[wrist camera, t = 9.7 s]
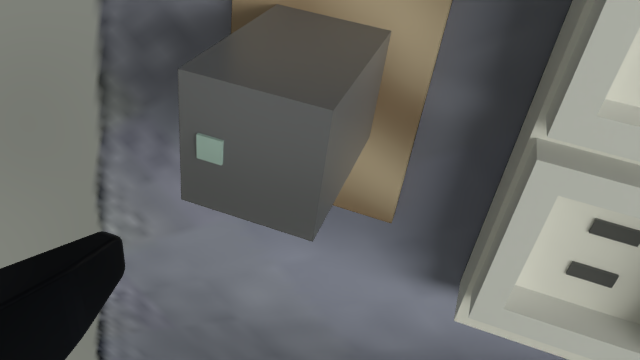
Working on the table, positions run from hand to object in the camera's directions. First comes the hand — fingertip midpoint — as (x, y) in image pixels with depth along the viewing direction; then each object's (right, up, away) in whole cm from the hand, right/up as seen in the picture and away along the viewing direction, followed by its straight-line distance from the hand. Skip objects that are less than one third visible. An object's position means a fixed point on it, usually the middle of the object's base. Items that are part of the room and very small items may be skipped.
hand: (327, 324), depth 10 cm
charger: (0, +7, +11) cm, 13 cm away
